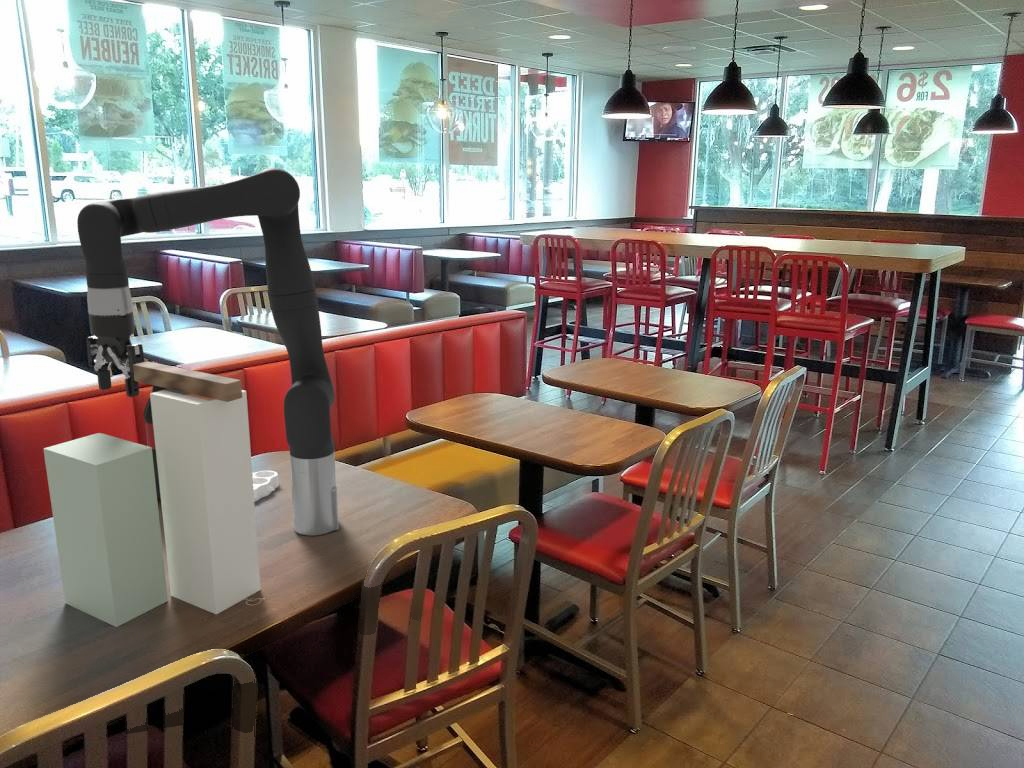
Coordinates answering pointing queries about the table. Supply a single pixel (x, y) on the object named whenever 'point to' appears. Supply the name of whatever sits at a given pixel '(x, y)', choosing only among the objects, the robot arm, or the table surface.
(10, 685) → the table surface
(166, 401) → the stand
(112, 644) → the table surface
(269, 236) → the robot arm
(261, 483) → the white brass knuckles
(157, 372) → the bar
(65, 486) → the step
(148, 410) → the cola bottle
